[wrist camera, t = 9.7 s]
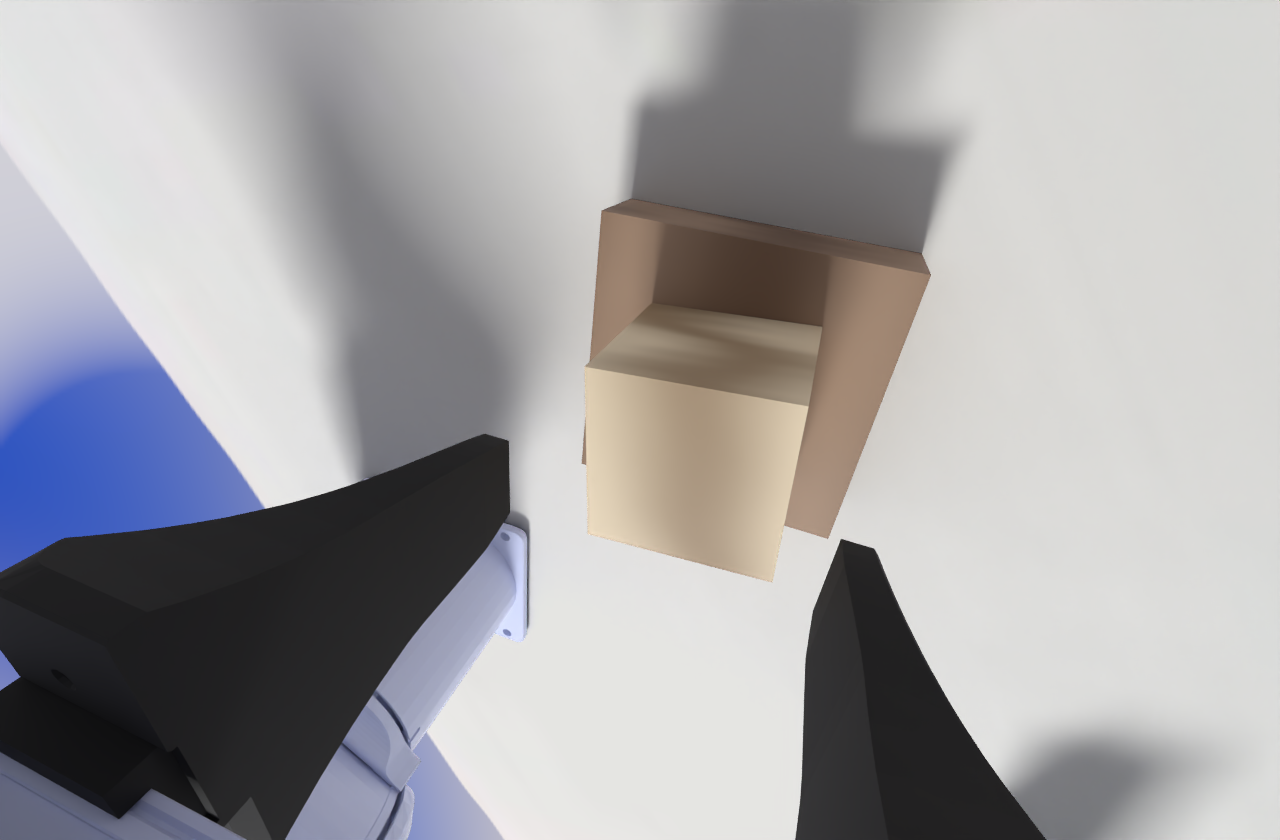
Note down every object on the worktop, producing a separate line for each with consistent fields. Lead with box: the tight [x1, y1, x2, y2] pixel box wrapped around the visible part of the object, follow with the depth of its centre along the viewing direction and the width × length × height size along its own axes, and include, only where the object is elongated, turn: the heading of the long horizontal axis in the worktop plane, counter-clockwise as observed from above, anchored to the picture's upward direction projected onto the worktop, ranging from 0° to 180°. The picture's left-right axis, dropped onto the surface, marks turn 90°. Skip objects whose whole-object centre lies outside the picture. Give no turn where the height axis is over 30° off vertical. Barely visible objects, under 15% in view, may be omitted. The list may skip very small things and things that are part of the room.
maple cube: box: [585, 303, 822, 582], centre depth 16 cm, size 5×5×5 cm
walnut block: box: [582, 199, 931, 539], centre depth 19 cm, size 9×9×3 cm
